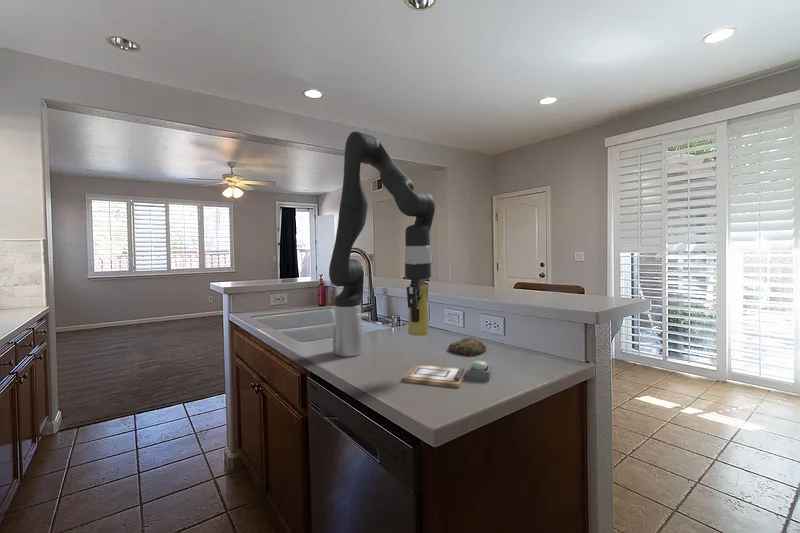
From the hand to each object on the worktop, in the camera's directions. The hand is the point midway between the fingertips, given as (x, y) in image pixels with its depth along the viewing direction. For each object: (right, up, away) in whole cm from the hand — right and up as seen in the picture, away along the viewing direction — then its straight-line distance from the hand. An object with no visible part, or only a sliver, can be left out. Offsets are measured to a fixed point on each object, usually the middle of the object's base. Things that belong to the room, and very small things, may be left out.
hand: (418, 319), depth 109 cm
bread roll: (+19, -15, +26) cm, 36 cm away
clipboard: (+5, -16, -1) cm, 17 cm away
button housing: (+18, -16, -1) cm, 24 cm away
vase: (0, -4, 0) cm, 4 cm away
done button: (+18, -14, -1) cm, 23 cm away
